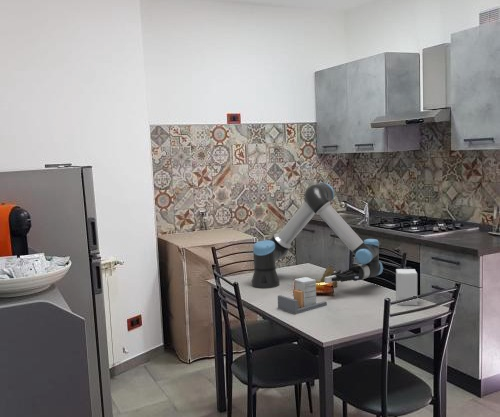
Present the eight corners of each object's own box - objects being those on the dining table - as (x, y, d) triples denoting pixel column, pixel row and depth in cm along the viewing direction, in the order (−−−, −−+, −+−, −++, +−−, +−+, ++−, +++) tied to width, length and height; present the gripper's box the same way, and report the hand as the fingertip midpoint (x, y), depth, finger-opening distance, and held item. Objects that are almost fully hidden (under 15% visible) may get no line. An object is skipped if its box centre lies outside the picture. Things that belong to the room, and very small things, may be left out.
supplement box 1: (294, 305, 243) (293, 278, 241) (307, 302, 246) (306, 276, 245) (303, 309, 236) (303, 282, 235) (317, 306, 240) (316, 279, 238)
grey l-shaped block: (278, 308, 239) (277, 295, 238) (308, 299, 250) (308, 287, 250) (295, 314, 229) (295, 301, 228) (326, 305, 241) (326, 292, 240)
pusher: (288, 308, 238) (288, 291, 237) (296, 306, 241) (295, 289, 240) (295, 310, 234) (295, 293, 233) (303, 308, 237) (302, 291, 236)
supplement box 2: (417, 305, 235) (417, 273, 233) (397, 305, 236) (397, 273, 235) (415, 299, 243) (415, 268, 242) (395, 299, 245) (395, 268, 244)
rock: (343, 283, 269) (339, 276, 279) (333, 271, 267) (329, 264, 277) (326, 296, 270) (323, 288, 280) (316, 284, 268) (313, 277, 278)
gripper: (368, 282, 257) (335, 290, 243) (348, 277, 268) (316, 285, 254) (368, 267, 256) (335, 275, 242) (349, 263, 267) (316, 270, 253)
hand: (325, 280), depth 248 cm, fingers closed
